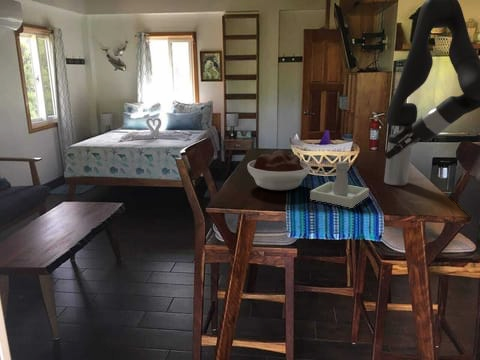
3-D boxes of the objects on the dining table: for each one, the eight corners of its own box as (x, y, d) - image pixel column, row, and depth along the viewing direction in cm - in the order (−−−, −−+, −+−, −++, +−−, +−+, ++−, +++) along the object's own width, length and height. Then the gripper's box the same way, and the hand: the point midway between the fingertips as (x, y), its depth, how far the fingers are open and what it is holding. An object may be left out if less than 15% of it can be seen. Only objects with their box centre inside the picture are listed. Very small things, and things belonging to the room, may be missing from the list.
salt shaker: (348, 199, 146) (351, 164, 142) (332, 198, 147) (335, 163, 144) (348, 194, 151) (350, 160, 148) (332, 193, 152) (334, 159, 149)
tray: (328, 190, 160) (329, 181, 159) (368, 197, 151) (369, 188, 150) (309, 200, 148) (310, 190, 147) (351, 208, 139) (352, 199, 138)
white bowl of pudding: (318, 194, 154) (321, 156, 150) (255, 198, 149) (255, 158, 145) (297, 178, 178) (298, 144, 174) (241, 180, 173) (241, 146, 169)
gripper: (429, 113, 135) (390, 142, 144) (417, 117, 124) (376, 149, 134) (444, 130, 133) (404, 159, 143) (433, 136, 122) (391, 167, 132)
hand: (391, 154), depth 138 cm, fingers open, 8 cm apart
